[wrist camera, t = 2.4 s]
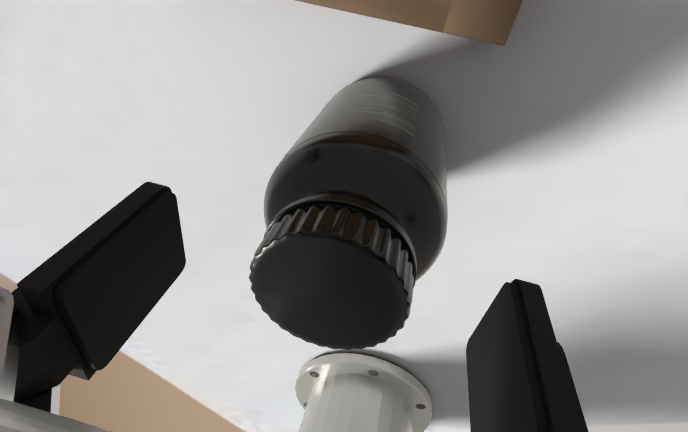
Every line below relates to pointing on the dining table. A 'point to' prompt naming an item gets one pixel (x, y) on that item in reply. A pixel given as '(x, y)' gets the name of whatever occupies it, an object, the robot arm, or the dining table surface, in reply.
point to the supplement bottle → (354, 217)
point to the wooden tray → (440, 15)
